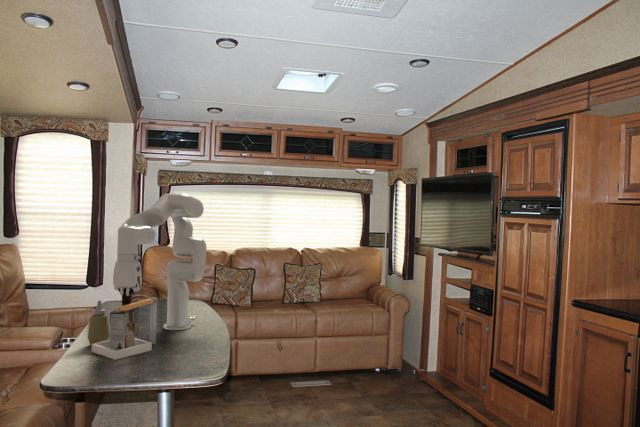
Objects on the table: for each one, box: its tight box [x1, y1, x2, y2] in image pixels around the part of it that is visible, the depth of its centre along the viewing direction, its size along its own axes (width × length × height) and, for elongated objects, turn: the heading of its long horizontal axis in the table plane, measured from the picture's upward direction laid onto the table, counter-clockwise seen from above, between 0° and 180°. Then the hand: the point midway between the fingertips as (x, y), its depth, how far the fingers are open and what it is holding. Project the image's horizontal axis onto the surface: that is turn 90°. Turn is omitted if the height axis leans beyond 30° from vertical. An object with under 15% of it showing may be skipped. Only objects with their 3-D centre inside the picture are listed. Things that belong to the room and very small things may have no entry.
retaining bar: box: [119, 296, 159, 311], centre depth 194 cm, size 21×3×2 cm, turn 163°
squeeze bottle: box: [87, 300, 110, 347], centre depth 198 cm, size 8×8×18 cm
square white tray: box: [91, 302, 158, 361], centre depth 194 cm, size 23×16×17 cm
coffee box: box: [108, 307, 136, 351], centre depth 191 cm, size 9×6×16 cm
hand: (126, 305), depth 190 cm, fingers closed
